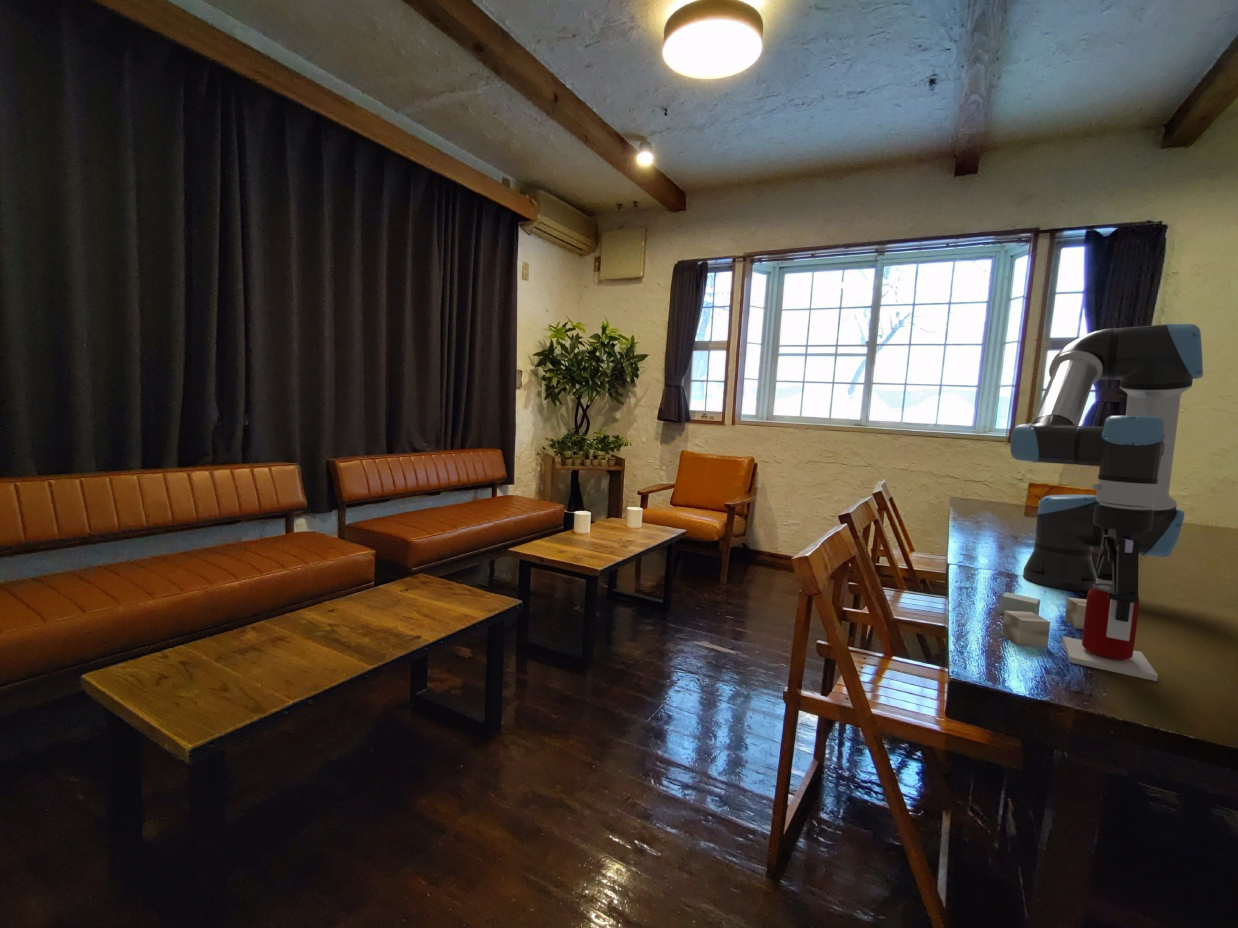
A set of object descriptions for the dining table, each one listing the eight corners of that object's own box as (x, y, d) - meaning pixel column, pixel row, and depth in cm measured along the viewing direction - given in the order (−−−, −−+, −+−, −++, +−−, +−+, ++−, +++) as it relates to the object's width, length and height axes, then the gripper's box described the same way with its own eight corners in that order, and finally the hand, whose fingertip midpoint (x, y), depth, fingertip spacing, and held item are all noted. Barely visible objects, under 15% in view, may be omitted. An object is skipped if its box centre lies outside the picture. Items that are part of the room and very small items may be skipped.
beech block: (1064, 620, 115) (1067, 597, 114) (1093, 623, 113) (1096, 600, 113) (1076, 628, 110) (1078, 604, 109) (1106, 632, 108) (1109, 608, 108)
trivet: (1061, 641, 103) (1062, 636, 103) (1140, 657, 97) (1141, 651, 97) (1069, 662, 94) (1070, 656, 94) (1157, 681, 88) (1157, 675, 88)
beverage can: (1133, 655, 95) (1141, 588, 94) (1131, 666, 91) (1139, 597, 89) (1083, 642, 100) (1090, 579, 99) (1078, 653, 95) (1086, 587, 94)
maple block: (1002, 635, 105) (1004, 610, 105) (1029, 637, 105) (1031, 612, 104) (1018, 646, 100) (1021, 620, 100) (1047, 648, 100) (1050, 621, 99)
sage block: (1004, 609, 120) (1006, 592, 120) (1038, 617, 116) (1040, 599, 116) (1000, 613, 118) (1002, 595, 117) (1034, 622, 113) (1036, 603, 113)
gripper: (1084, 495, 105) (1072, 601, 107) (1108, 512, 85) (1093, 643, 87) (1136, 499, 101) (1123, 610, 103) (1175, 519, 81) (1158, 656, 83)
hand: (1109, 625), depth 95 cm, fingers open, 13 cm apart
